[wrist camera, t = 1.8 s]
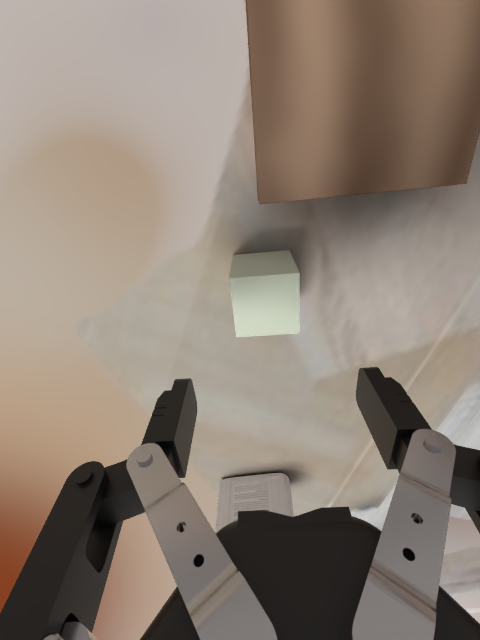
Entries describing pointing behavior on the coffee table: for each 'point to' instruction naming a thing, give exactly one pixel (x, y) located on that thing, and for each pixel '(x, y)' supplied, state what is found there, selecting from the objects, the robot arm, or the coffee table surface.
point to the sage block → (265, 293)
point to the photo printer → (253, 496)
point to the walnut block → (362, 95)
